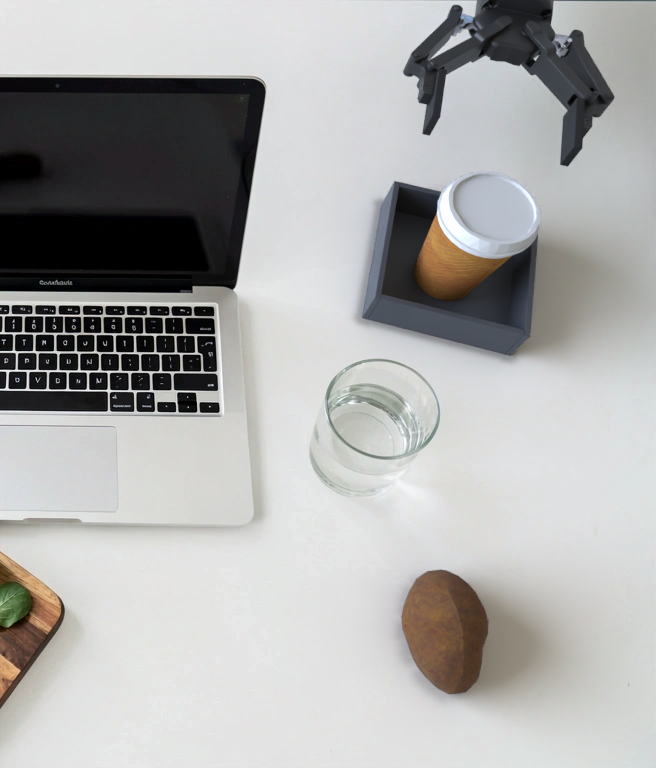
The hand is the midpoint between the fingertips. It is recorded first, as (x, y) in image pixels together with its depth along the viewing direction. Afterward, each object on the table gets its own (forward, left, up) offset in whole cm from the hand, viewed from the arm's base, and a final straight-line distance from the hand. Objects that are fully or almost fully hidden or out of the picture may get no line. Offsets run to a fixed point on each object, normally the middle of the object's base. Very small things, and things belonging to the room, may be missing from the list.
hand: (500, 141), depth 89 cm
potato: (-3, +47, -12) cm, 48 cm away
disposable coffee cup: (0, +9, -12) cm, 15 cm away
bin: (0, +9, -12) cm, 15 cm away
